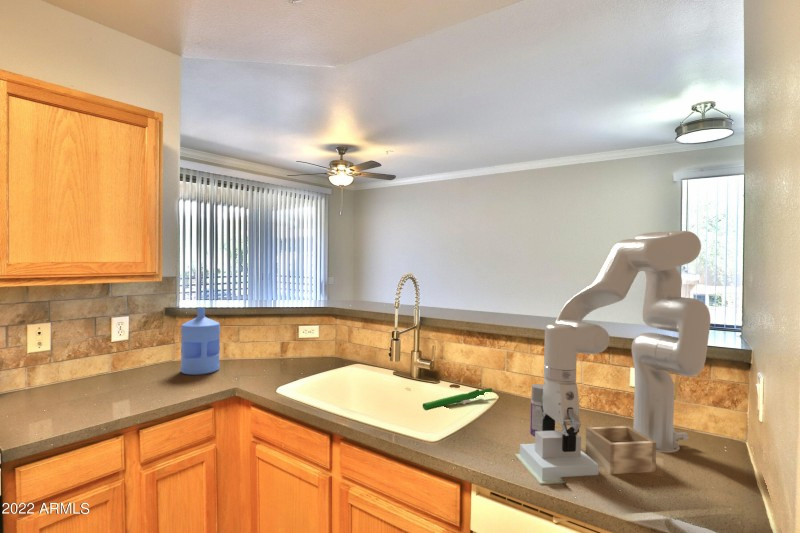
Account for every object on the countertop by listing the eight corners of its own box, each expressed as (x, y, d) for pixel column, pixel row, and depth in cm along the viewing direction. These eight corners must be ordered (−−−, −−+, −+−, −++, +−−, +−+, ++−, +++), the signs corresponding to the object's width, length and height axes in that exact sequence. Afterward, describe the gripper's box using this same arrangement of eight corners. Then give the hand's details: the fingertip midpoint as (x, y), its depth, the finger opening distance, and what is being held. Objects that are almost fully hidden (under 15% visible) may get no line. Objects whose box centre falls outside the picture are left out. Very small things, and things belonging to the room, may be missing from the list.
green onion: (428, 414, 138) (496, 397, 152) (427, 405, 138) (495, 388, 152) (420, 410, 142) (487, 393, 157) (420, 400, 142) (487, 384, 157)
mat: (571, 452, 110) (571, 451, 110) (604, 480, 96) (604, 479, 96) (515, 455, 108) (515, 454, 108) (540, 484, 94) (540, 482, 94)
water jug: (177, 369, 184) (178, 307, 184) (214, 364, 194) (215, 305, 193) (184, 377, 172) (184, 311, 171) (223, 371, 181) (224, 308, 181)
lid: (570, 452, 109) (570, 423, 109) (598, 477, 97) (599, 443, 97) (519, 455, 107) (520, 425, 107) (542, 480, 95) (542, 446, 95)
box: (627, 455, 109) (628, 425, 109) (655, 475, 99) (656, 442, 99) (585, 457, 107) (586, 427, 107) (609, 478, 97) (610, 444, 97)
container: (533, 432, 123) (535, 382, 122) (549, 437, 120) (550, 386, 119) (527, 437, 119) (528, 386, 119) (543, 442, 116) (545, 389, 116)
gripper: (594, 384, 94) (593, 458, 94) (556, 364, 111) (554, 427, 111) (564, 384, 93) (562, 459, 93) (529, 365, 110) (528, 428, 110)
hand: (558, 442), depth 102 cm, fingers open, 9 cm apart
